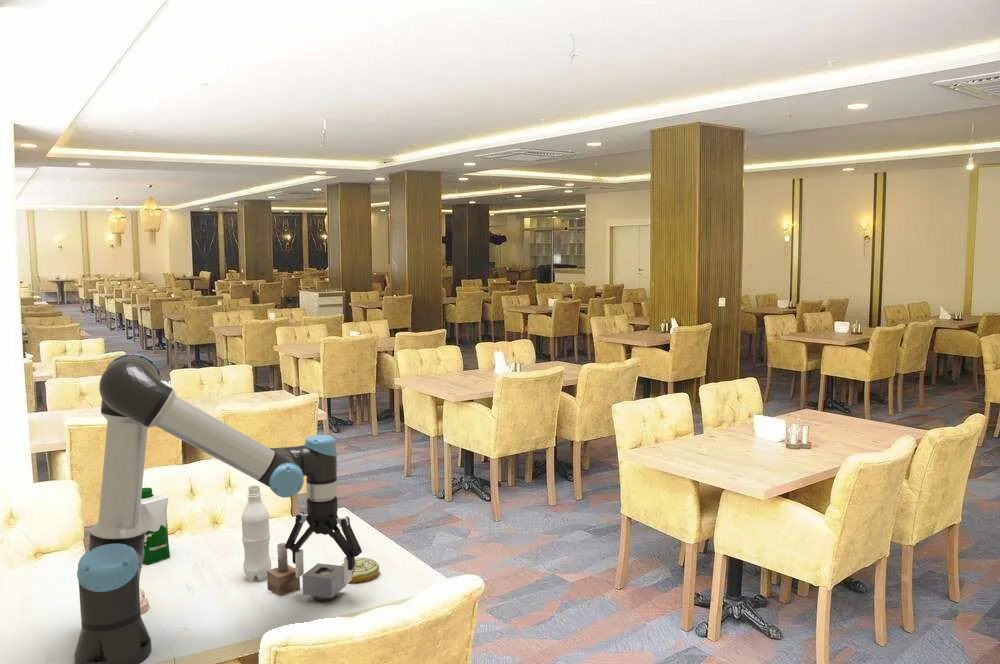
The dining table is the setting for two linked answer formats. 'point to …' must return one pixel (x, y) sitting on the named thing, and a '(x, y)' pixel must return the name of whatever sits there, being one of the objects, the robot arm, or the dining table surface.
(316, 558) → the dining table surface
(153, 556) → the milk carton
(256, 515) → the water bottle
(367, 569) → the decorated donut
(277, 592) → the stand
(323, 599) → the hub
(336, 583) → the square steel tube
